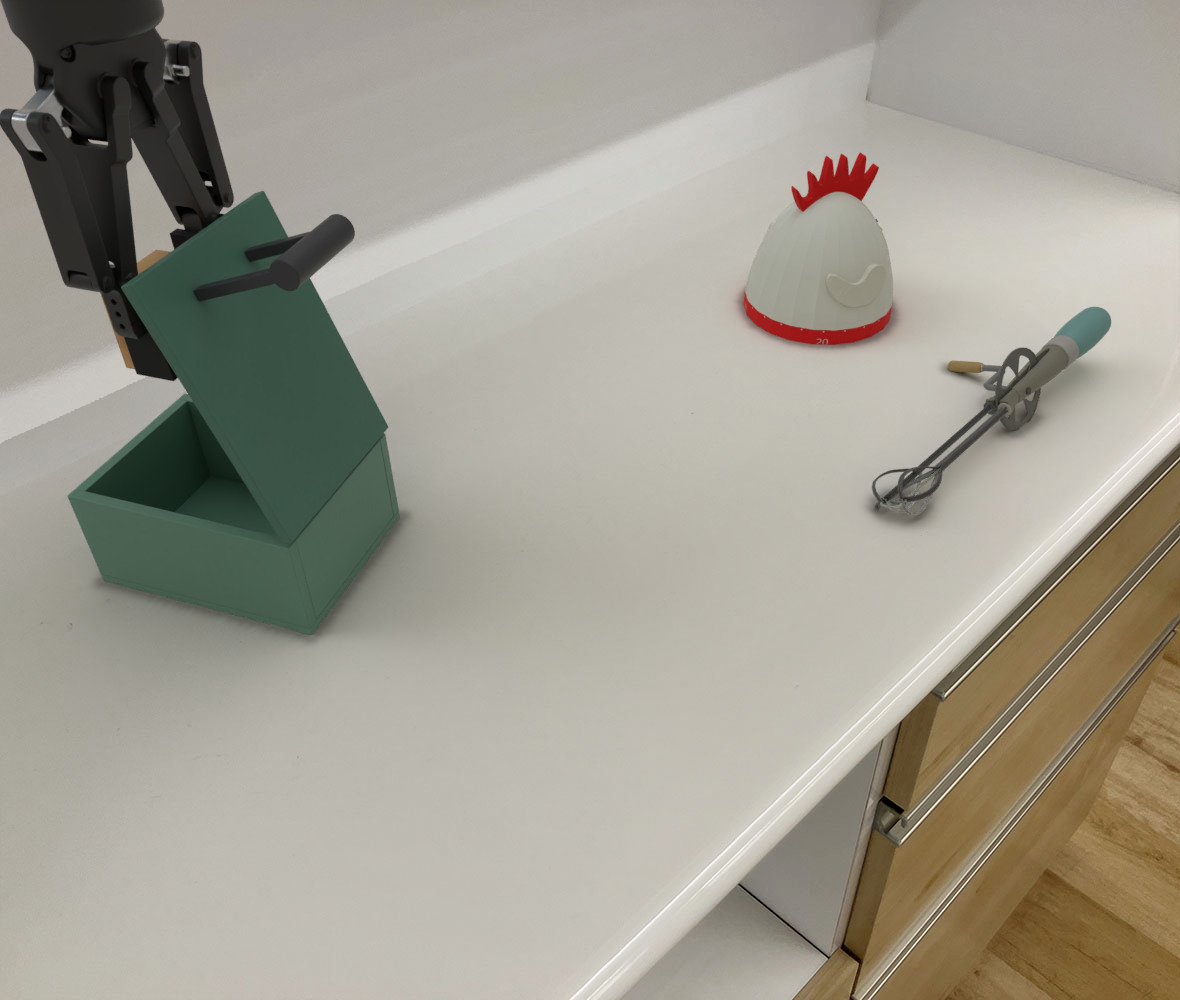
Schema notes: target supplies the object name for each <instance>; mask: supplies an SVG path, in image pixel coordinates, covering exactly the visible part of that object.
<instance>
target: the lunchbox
mask: <svg viewBox="0 0 1180 1000" xmlns="http://www.w3.org/2000/svg"><path fill="white" fill-rule="evenodd" d="M67 499H68V501H69V504H70V506H71V509H72V511H73V513H74V515H75V517H76V520H77V522H78V525H79V526H80V529H81V531H82V534H83V536H84V538H85V541H86V543H87V545H88V547H89V549H90V552H91V555H92V557H93V560H94V561H95V564H96V566H97V569H98V571H99V574H100V576H101V578H102V580H103V582H107V583H111V584H114V585H118V586H122V587H126V588H129V589H134V590H138V591H141V592H144V593H148V594H153V595H156V596H160V597H164V598H167V599H171V600H175V601H180V602H182V603H188V604H190V605H195V606H199V607H202V608H206V609H210V610H213V611H217V612H222V613H225V614H229V615H233V616H237V617H241V618H245V619H249V620H252V621H254V622H255V621H256V622H260V623H263V624H267V625H271V626H274V627H278V628H282V629H286V630H290V631H294V632H298V633H301V634H304V635H309V636H313V635H314V634H315V632H316V631H317V629H319V627H320V626H321V624H322V623H323V621H324V620H325V618H326V617H327V616H328V614H329V613H330V612H331V610H333V608H334V606H335V605H336V604H337V602H338V601H339V600H340V598H341V597H342V596H343V595H344V593H345V592H346V591H347V589H348V587H349V586H350V584H352V582H353V581H354V580H355V578H356V577H357V576H358V574H359V573H360V572H361V570H362V569H363V567H364V566H365V565H366V564H367V562H368V561H369V560H370V558H371V557H372V555H373V554H374V553H375V552H376V550H377V549H378V547H379V546H380V545H381V543H382V542H383V541H384V539H385V538H386V537H387V535H388V534H389V532H390V531H391V530H392V529H393V527H394V526H395V524H396V523H397V522H398V521H399V519H400V518H401V516H400V515H401V514H400V510H399V504H398V498H397V492H396V487H395V481H394V475H393V470H392V464H391V458H390V452H389V447H388V442H387V435H386V432H384V433H383V435H382V436H381V437H380V438H379V439H378V440H377V442H376V443H375V444H374V445H373V446H372V448H371V449H370V450H369V451H368V452H367V454H366V455H365V456H364V457H363V458H362V459H361V461H360V462H359V463H358V464H357V465H356V467H355V468H354V469H353V470H352V471H351V473H350V474H349V475H348V476H347V477H346V479H345V480H344V481H343V482H342V483H341V484H340V486H339V487H338V488H337V489H336V490H335V492H334V493H333V494H332V495H331V496H330V498H329V499H328V500H327V501H326V502H325V503H324V505H323V506H322V507H321V508H320V509H319V511H318V512H317V513H316V514H315V515H314V517H313V518H312V519H311V520H310V521H309V522H308V524H307V525H306V526H305V527H304V528H303V530H302V531H301V532H300V533H299V534H298V536H297V537H296V538H295V539H294V540H293V541H292V542H290V543H282V541H281V540H280V538H279V537H278V535H277V534H276V532H275V530H274V529H273V527H272V526H271V524H270V523H269V521H268V519H267V518H266V516H265V515H264V513H263V511H262V510H261V508H260V507H259V505H258V504H257V502H256V500H255V499H254V497H253V496H252V494H251V493H250V491H249V489H248V488H247V486H246V485H245V483H244V481H243V480H242V478H241V477H240V475H239V474H238V472H237V470H236V469H235V467H234V466H233V464H232V462H231V461H230V459H229V458H228V456H227V455H226V453H225V451H224V450H223V448H222V447H221V445H220V444H219V442H218V440H217V439H216V437H215V436H214V434H213V432H212V431H211V429H210V428H209V426H208V425H207V423H206V421H205V420H204V418H203V417H202V415H201V414H200V412H199V410H198V409H197V407H196V406H195V404H194V402H193V401H192V399H191V398H190V396H189V395H188V393H183V394H182V395H181V396H180V397H179V398H178V399H176V400H175V401H174V402H173V403H171V404H170V405H169V406H168V407H167V408H166V409H165V410H164V411H162V412H161V413H160V414H159V415H158V416H157V417H155V418H154V419H153V420H152V421H151V422H150V423H149V424H148V425H147V426H146V427H144V428H143V429H142V430H141V431H140V432H139V433H137V435H135V436H134V437H132V438H131V440H130V441H128V442H127V443H126V444H125V445H124V446H122V447H121V448H120V449H119V450H118V451H117V452H115V453H114V454H113V455H112V456H111V457H110V458H109V459H108V460H106V461H105V462H104V463H102V465H101V466H100V467H98V468H97V469H96V470H95V471H93V473H91V474H90V475H89V476H88V477H87V478H86V479H84V480H83V482H81V483H80V484H79V485H78V486H76V488H74V489H73V490H72V491H71V492H69V494H67Z"/></svg>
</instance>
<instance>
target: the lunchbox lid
mask: <svg viewBox="0 0 1180 1000" xmlns="http://www.w3.org/2000/svg"><path fill="white" fill-rule="evenodd" d="M223 214H224V215H223V216H221V217H220V218H219V219H217V220H216V221H214V222H213V223H211V224H210V225H209V226H207V227H206V228H204V229H203V230H201V231H200V232H199V233H197V234H196V235H194V236H193V237H191V238H190V239H189V240H187V241H186V242H184V243H183V244H181V245H180V246H179V247H177V248H176V249H174V248H173V249H172V251H169V252H170V253H169V254H167V255H166V256H164V257H163V258H161V259H160V260H159V261H157V262H156V263H154V264H153V265H151V266H150V267H149V268H147V269H146V270H144V271H143V272H141V273H140V274H139V275H137V276H136V277H134V278H133V279H131V280H130V281H129V282H127V283H126V284H124V285H123V286H122V287H121V289H122V290H123V292H124V293H125V295H126V297H127V298H128V300H129V301H130V303H131V304H132V306H133V308H134V309H135V311H136V312H137V314H138V316H139V317H140V319H141V320H142V322H143V323H144V325H145V327H146V328H147V330H148V331H149V333H150V335H151V336H152V338H153V339H154V341H155V342H156V344H157V346H158V347H159V349H160V350H161V352H162V353H163V355H164V357H165V358H166V360H167V361H168V363H169V365H170V366H171V368H172V369H173V371H174V372H175V374H176V376H177V377H178V378H177V379H178V380H179V382H180V383H181V385H182V387H183V388H184V390H185V391H186V394H188V395H189V396H190V398H191V399H192V401H193V402H194V404H195V406H196V407H197V409H198V410H199V412H200V414H201V415H202V417H203V418H204V420H205V421H206V423H207V425H208V426H209V428H210V429H211V431H212V432H213V434H214V436H215V437H216V439H217V440H218V442H219V444H220V445H221V447H222V448H223V450H224V451H225V453H226V455H227V456H228V458H229V459H230V461H231V462H232V464H233V466H234V467H235V469H236V470H237V472H238V474H239V475H240V477H241V478H242V480H243V481H244V483H245V485H246V486H247V488H248V489H249V491H250V493H251V494H252V496H253V497H254V499H255V500H256V502H257V504H258V505H259V507H260V508H261V510H262V511H263V513H264V515H265V516H266V518H267V519H268V521H269V523H270V524H271V526H272V527H273V529H274V530H275V532H276V534H277V535H278V537H279V538H280V540H281V541H282V543H290V542H292V541H293V540H294V539H295V538H296V537H297V536H298V534H299V533H300V532H301V531H302V530H303V528H304V527H305V526H306V525H307V524H308V522H309V521H310V520H311V519H312V518H313V517H314V515H315V514H316V513H317V512H318V511H319V509H320V508H321V507H322V506H323V505H324V503H325V502H326V501H327V500H328V499H329V498H330V496H331V495H332V494H333V493H334V492H335V490H336V489H337V488H338V487H339V486H340V484H341V483H342V482H343V481H344V480H345V479H346V477H347V476H348V475H349V474H350V473H351V471H352V470H353V469H354V468H355V467H356V465H357V464H358V463H359V462H360V461H361V459H362V458H363V457H364V456H365V455H366V454H367V452H368V451H369V450H370V449H371V448H372V446H373V445H374V444H375V443H376V442H377V440H378V439H379V438H380V437H381V436H382V435H383V433H386V431H387V430H388V429H389V425H388V423H387V422H386V419H385V417H384V416H383V413H382V412H381V410H380V408H379V406H378V404H377V402H376V400H375V398H374V397H373V395H372V393H371V391H370V389H369V387H368V385H367V383H366V382H365V380H364V377H363V376H362V374H361V371H360V370H359V368H358V366H357V364H356V362H355V360H354V359H353V357H352V355H351V353H350V351H349V349H348V347H347V345H346V343H345V342H344V340H343V338H342V336H341V333H340V332H339V330H338V328H337V326H336V325H335V323H334V321H333V319H332V317H331V315H330V313H329V311H328V310H327V307H326V305H325V304H324V302H323V300H322V298H321V296H320V295H319V293H318V290H317V288H316V286H315V285H314V283H313V281H312V279H311V277H313V276H314V275H315V274H316V273H317V272H318V271H320V270H321V269H322V268H323V267H324V266H326V264H327V263H329V262H330V261H331V260H332V259H334V258H335V257H336V256H337V255H338V254H339V253H340V252H342V251H343V250H344V249H345V248H346V247H348V245H350V244H351V243H352V242H353V241H354V239H355V236H356V231H355V227H354V225H353V223H352V221H350V219H348V218H347V217H346V216H345V215H343V214H339V213H333V214H331V215H329V216H328V217H326V218H325V219H324V220H323V221H322V222H320V223H319V224H318V225H317V226H315V227H314V228H313V229H312V230H310V231H306V232H302V233H299V234H295V235H291V236H288V234H287V232H286V229H285V228H284V226H283V224H282V222H281V221H280V219H279V216H278V214H277V212H276V211H275V209H274V207H273V205H272V204H271V202H270V199H269V197H268V195H267V193H266V191H264V190H261V191H257V192H254V193H252V194H251V195H250V196H249V197H247V198H246V199H244V200H243V201H241V202H240V203H238V204H237V205H235V206H233V208H231V209H229V210H228V211H227V212H226V213H223Z"/></svg>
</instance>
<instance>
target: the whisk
mask: <svg viewBox="0 0 1180 1000" xmlns="http://www.w3.org/2000/svg"><path fill="white" fill-rule="evenodd" d="M1111 327H1112V318H1111V314H1110V313H1109V311H1107V309H1105V308H1103V307H1100V306H1089V307H1086V308H1084V309H1083V310H1081V311H1080V312H1078V313H1077V314H1076V315H1074V316H1073V317H1072V318H1070V319H1069V320H1068V321H1066V323H1065V324H1064V325H1062V326H1061V328H1060V329H1059V330H1058V331H1057V332H1056V333H1055V334H1054V336H1053V338H1051V339H1050V340H1048V342H1047V343H1045V344H1044V345H1043V346H1042V347H1041V349H1040V350H1039V351H1038V352H1037V353H1035V352H1034V351H1033V350H1031V349H1030V348H1028V347H1018V348H1015V349H1013V350H1012V351H1011V352H1009V354H1008V355H1006V357H1005V359H1004V360H1003V362H1002V364H1001V365H993V364H984V363H983V362H980V361H970V360H969V361H968V360H966V361H965V360H950V361H949V363H948V364H947V368H948V371H949V372H954V373H967V374H968V373H969V374H981V373H984V372H989V373H990V372H993V373H994V374H993V375H992V376H991V377H989V378H988V379H987V380H986V381H985V382H983V388H984V389H985V390H986V391H988V392H989V391H990V392H994V395H993V396H991V397H989V398H986V399H985V402H984V403H983V406H982V407H983V408H982V409H981V410H980V411H979V412H978V413H977V414H975V415H974V416H973V417H972V418H971V419H970V420H969V421H968V422H967V423H965V424H964V425H963V426H962V427H961V428H960V429H958V430H957V431H956V432H955V433H954V434H953V435H951V436H950V437H949V438H948V439H947V440H946V441H945V442H944V443H943V444H941V445H940V446H939V447H938V448H936V450H935V451H933V453H931V454H930V455H929V456H928V457H926V458H925V459H924V460H923V461H922V462H920V464H918V466H914V467H910V468H895V469H889V470H887V471H885V472H882V473H881V474H879V475H878V476H877V477H876V478H875V479H873V481H872V484H871V490H872V494H873V496H874V498H875V500H876V501H877V502H876V503H875V506H878V507H877V508H878V509H881V508H886V509H889V510H891V511H893V512H895V513H898V514H899V513H906V514H907V515H909V516H917V515H918V516H919V515H920V514H922V513H923V512H924V511H925V509H926V508H927V507H928V506H929V504H930V503H931V500H932V498H933V495H934V493H935V492H936V491H937V489H938V488H939V487H940V486H941V484H942V480H943V472H944V471H945V470H946V469H947V468H949V466H951V464H953V463H954V462H955V461H956V460H957V459H958V458H960V457H961V456H962V455H963V454H964V453H965V452H966V451H967V450H969V448H971V447H972V446H973V444H975V443H976V442H977V441H978V440H979V439H980V438H982V436H984V435H985V434H986V433H987V432H988V431H990V430H991V428H992V427H994V426H995V425H996V424H997V423H998V422H1000V423H1001V425H1002V426H1003V427H1004V428H1005V429H1006V430H1009V431H1019V430H1020V429H1021V428H1023V426H1024V425H1026V424H1027V423H1030V421H1031V420H1032V418H1033V417H1034V416H1035V413H1036V410H1037V408H1038V405H1039V402H1040V398H1041V393H1042V391H1041V390H1042V387H1044V386H1045V385H1047V384H1048V383H1049V382H1051V381H1052V380H1053V379H1054V378H1056V377H1057V376H1058V375H1059V374H1061V373H1062V372H1063V371H1064V370H1066V369H1068V368H1069V367H1070V366H1072V364H1073V363H1074V362H1076V361H1077V359H1079V358H1081V357H1083V356H1084V355H1085V354H1087V353H1088V352H1090V351H1091V350H1092V349H1093V348H1094V347H1095V346H1096V345H1097V344H1098V343H1099V342H1100V341H1101V340H1102V339H1104V337H1105V336H1106V334H1107V333H1108V332H1109V331H1110V328H1111ZM1021 357H1025V358H1027V359H1028V361H1027V362H1026V363H1025V365H1024V366H1023V367H1022V368H1021V369H1020V370H1019V367H1020V358H1021ZM1008 367H1009V369H1011V371H1012V373H1013V374H1014V377H1013V378H1012V380H1010V381H1009V383H1007V385H1003V381H1004V376H1005V374H1006V370H1007V368H1008ZM1032 394H1033V397H1032V400H1029V399H1027V398H1028V397H1029V396H1031V395H1032ZM1021 402H1023V404H1024V407H1025V410H1026V414H1025V416H1024V417H1023V418H1022V419H1021V420H1020V421H1019V422H1017V419H1016V406H1017V405H1018V404H1019V403H1021ZM987 415H991V416H990V417H988V418H987V419H986V420H985V421H984V422H983V423H981V425H980V426H978V427H977V428H976V429H975V430H973V432H971V434H969V435H968V436H967V437H966V438H965V439H963V441H962V442H960V443H959V444H957V446H956V447H955V448H954V449H952V451H950V452H949V453H948V454H947V455H946V456H945V457H944V458H943V459H941V460H940V461H939V462H938V463H936V464H935V465H934V466H931V465H932V464H933V463H934V462H935V461H936V460H937V459H939V457H941V456H942V455H943V454H944V453H945V452H947V450H948V449H950V448H951V447H952V446H953V445H954V444H955V443H956V442H957V441H958V440H960V439H961V438H962V437H963V436H965V434H966V433H968V432H969V431H970V430H971V429H972V428H973V427H974V426H976V424H978V423H979V422H980V421H982V419H983V418H984V417H985V416H987ZM927 469H931V470H928V471H926V472H924V471H925V470H927ZM923 472H924V473H923ZM894 473H901V474H900V475H899V478H898V481H897V484H896V485H895V486H894V487H893V488H891V490H889V492H887V493H886V494H885V495H884V496H883V497H881V496H880V495H879V493H878V492H877V488H876V485H877V481H878V480H879V479H880V478H882V477H884V476H886V475H889V474H894ZM931 479H932V481H931V484H930V487H929V489H927V490H925V491H924V492H922V493H920V489H921V488H922V487H923V486H925V485H926V484H927V483H928V482H929V481H930V480H931ZM915 485H916V487H915V488H914V489H913V490H912V491H911V492H910V493H909V494H908V495H907V496H905V495H904V491H905V490H907V489H909V488H910V487H913V486H915ZM897 496H898V498H897V500H893V499H894V498H896V497H897ZM924 499H925V500H924ZM921 500H924V502H923V503H922V505H921V507H920V508H919V509H918V510H917V511H916V512H912V511H910V510H909V509H911V508H912V507H913V505H914V504H915V502H917V501H921ZM889 501H890V503H889ZM907 503H910V504H909V505H908V506H906V505H907ZM901 508H902V509H901Z"/></svg>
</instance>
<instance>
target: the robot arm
mask: <svg viewBox="0 0 1180 1000" xmlns="http://www.w3.org/2000/svg"><path fill="white" fill-rule="evenodd" d="M0 3H1V6H2V9H3V12H4V15H5V17H6V21H7V24H8V27H9V29H10V31H11V33H12V34H13V35H14V36H15V37H16V38H18V39H19V40H20V41H21V43H23V45H24V46H25V47H26V48H27V49H28V51H29V53H30V54H31V58H32V63H33V85H34V89H35V93H34V94H33V96H31V98H29V99H28V101H26V103H25V104H24V105H23V107H21V108H20V109H17V108H3V110H1V112H0V128H1V130H2V131H3V132H4V134H5V136H6V137H7V139H8V140H9V141H10V143H11V144H12V146H13V147H14V149H15V150H16V151H17V153H18V154H19V156H20V157H21V161H22V164H23V167H24V169H25V172H26V176H27V179H28V182H29V185H30V188H31V191H32V193H33V197H34V199H35V202H36V205H37V209H38V211H39V214H40V217H41V220H42V223H43V225H44V230H45V232H46V235H47V237H48V241H49V244H50V247H51V249H52V250H51V251H52V253H53V256H54V259H55V261H56V264H57V268H58V271H59V273H60V276H61V279H62V282H63V284H64V285H65V286H66V287H68V288H72V289H76V290H83V291H89V292H93V293H94V292H95V293H100V292H101V294H102V297H103V299H104V302H105V305H106V308H107V311H108V314H109V317H110V319H111V321H112V325H113V328H114V330H115V332H116V333H117V334H118V335H119V336H123V337H124V339H125V342H126V345H127V348H128V350H129V353H130V356H131V359H132V362H133V365H134V368H135V369H134V371H135V373H136V375H139V376H145V377H149V378H154V379H159V380H165V381H170V382H175V381H177V379H178V377H177V376H176V374H175V372H174V371H173V369H172V368H171V366H170V365H169V363H168V361H167V360H166V358H165V357H164V355H163V353H162V352H161V350H160V349H159V347H158V346H157V344H156V342H155V341H154V339H153V338H152V336H151V335H150V333H149V331H148V330H147V328H146V327H145V325H144V323H143V322H142V320H141V319H140V317H139V316H138V314H137V312H136V311H135V309H134V308H133V306H132V304H131V303H130V301H129V300H128V298H127V297H126V295H125V293H124V292H123V290H122V289H121V287H122V286H123V285H124V284H126V283H127V282H129V281H130V280H131V279H133V278H134V277H136V276H137V275H138V269H137V263H138V260H137V251H136V242H135V241H136V240H135V232H134V223H133V213H132V204H131V196H130V185H129V177H128V167H127V165H128V163H129V162H131V161H132V159H133V156H134V155H133V154H134V153H133V143H134V146H135V147H136V149H137V151H138V153H139V155H140V157H141V158H142V160H143V162H144V164H145V166H146V167H147V170H148V172H149V174H150V175H151V177H152V179H153V181H154V182H155V184H156V186H157V188H158V190H159V191H160V193H161V196H162V198H163V199H164V201H165V203H166V205H167V206H168V209H169V210H170V212H171V214H172V216H173V218H174V219H175V221H176V223H177V224H178V225H180V226H183V227H184V229H183V228H175V229H174V230H172V231H171V232H169V237H170V240H171V244H172V247H173V250H174V249H176V248H177V247H179V246H180V245H181V244H183V243H184V242H186V241H187V240H189V239H190V238H191V237H193V236H194V235H196V234H197V233H199V232H200V231H201V230H203V229H204V228H206V227H207V226H209V225H210V224H211V223H213V222H214V221H216V220H217V219H219V218H220V217H221V216H223V215H224V214H225V213H221V212H222V210H223V209H224V208H226V209H229V208H231V207H232V206H233V205H234V201H235V195H234V191H233V187H232V184H231V183H232V182H231V180H230V176H229V172H228V168H227V165H226V162H225V158H224V153H223V150H222V146H221V144H220V140H219V136H218V133H217V128H216V125H215V122H214V117H213V114H212V110H211V106H210V102H209V100H208V99H209V98H208V95H207V92H206V88H205V84H204V71H203V70H204V69H203V53H202V48H201V46H200V44H199V43H198V42H197V41H193V40H191V41H190V40H181V39H172V38H171V39H169V38H163V37H162V36H161V35H160V33H159V32H158V30H157V28H156V27H158V26H159V25H160V24H161V22H162V21H163V19H164V17H165V7H164V4H163V0H0ZM91 141H95V142H103V143H107V144H102V143H93V142H91ZM206 182H210V183H211V185H209V184H206ZM111 263H112V264H111ZM101 294H100V295H101ZM102 297H101V298H102ZM104 302H103V303H104ZM105 305H104V306H105ZM106 308H105V309H106ZM107 311H106V312H107ZM108 314H107V315H108ZM109 317H108V318H109ZM112 325H111V326H112ZM113 328H112V329H113Z"/></svg>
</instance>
